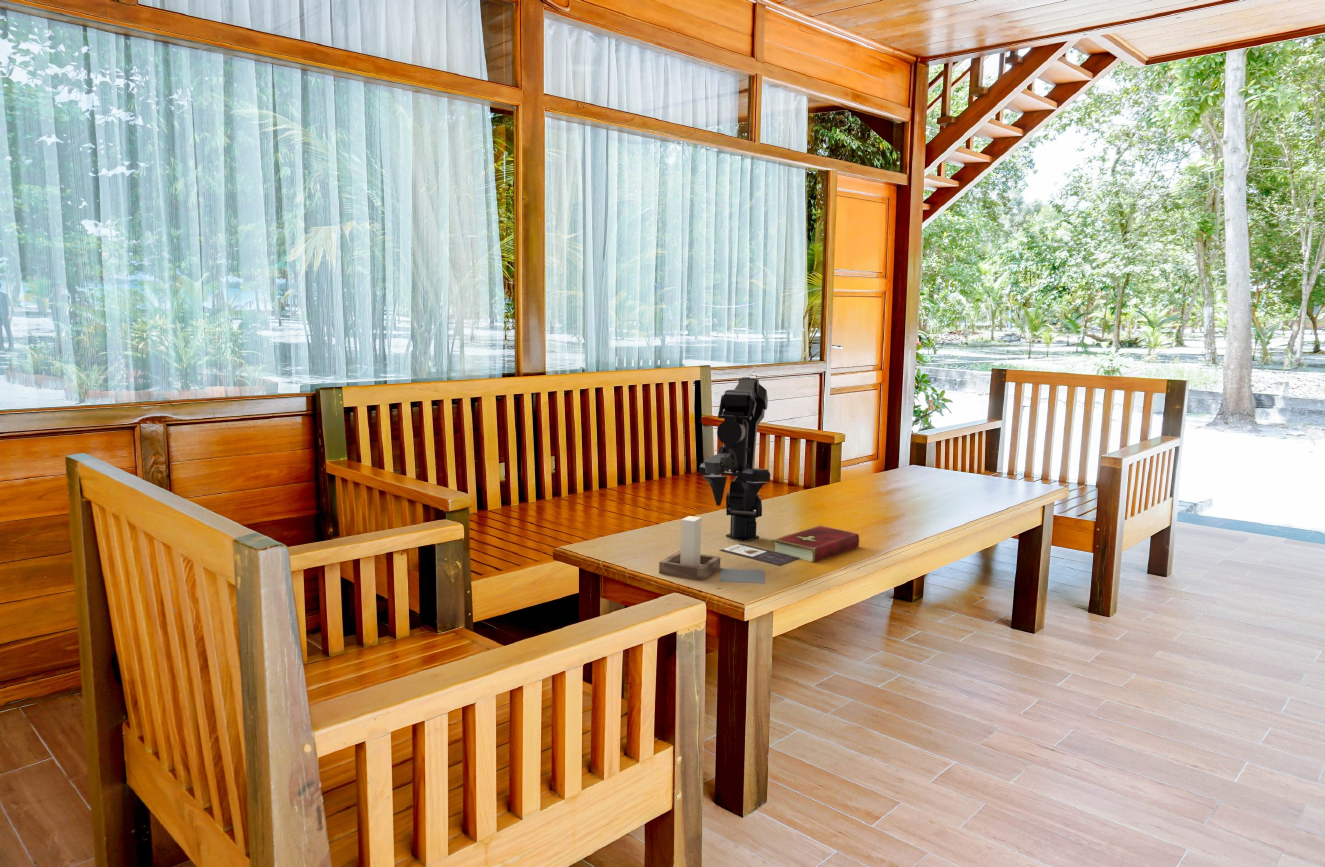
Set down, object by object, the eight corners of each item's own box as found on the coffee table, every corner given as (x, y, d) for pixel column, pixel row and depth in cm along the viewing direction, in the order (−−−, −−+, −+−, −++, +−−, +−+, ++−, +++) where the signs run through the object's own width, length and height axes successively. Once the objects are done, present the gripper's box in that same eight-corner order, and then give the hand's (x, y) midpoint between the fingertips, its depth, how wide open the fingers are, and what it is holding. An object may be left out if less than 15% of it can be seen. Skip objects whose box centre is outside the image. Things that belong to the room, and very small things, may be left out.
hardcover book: (859, 548, 227) (859, 532, 226) (813, 565, 212) (814, 547, 211) (819, 539, 235) (819, 524, 234) (772, 554, 220) (773, 538, 219)
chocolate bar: (779, 565, 208) (719, 550, 220) (779, 569, 208) (719, 553, 220) (800, 557, 215) (740, 543, 227) (800, 561, 215) (740, 546, 227)
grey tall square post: (683, 566, 207) (685, 514, 205) (707, 570, 205) (708, 517, 203) (672, 573, 202) (673, 519, 200) (696, 577, 199) (698, 523, 197)
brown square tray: (678, 562, 210) (679, 550, 210) (720, 568, 206) (720, 557, 205) (659, 573, 201) (659, 561, 200) (701, 581, 196) (702, 569, 196)
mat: (720, 569, 205) (720, 567, 205) (764, 571, 205) (764, 569, 205) (719, 582, 196) (719, 581, 196) (765, 584, 195) (765, 583, 195)
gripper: (684, 440, 213) (681, 504, 214) (740, 446, 199) (737, 515, 200) (716, 440, 221) (713, 502, 221) (773, 446, 207) (769, 512, 207)
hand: (732, 508), depth 212 cm, fingers open, 9 cm apart
